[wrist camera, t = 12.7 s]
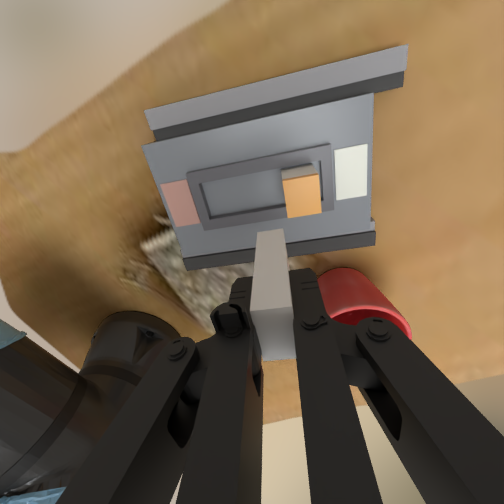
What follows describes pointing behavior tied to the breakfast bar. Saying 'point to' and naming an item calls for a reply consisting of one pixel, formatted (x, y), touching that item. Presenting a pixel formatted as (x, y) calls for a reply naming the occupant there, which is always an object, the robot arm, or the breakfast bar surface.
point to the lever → (301, 190)
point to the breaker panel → (266, 175)
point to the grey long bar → (281, 94)
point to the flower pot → (356, 299)
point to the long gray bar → (292, 247)
